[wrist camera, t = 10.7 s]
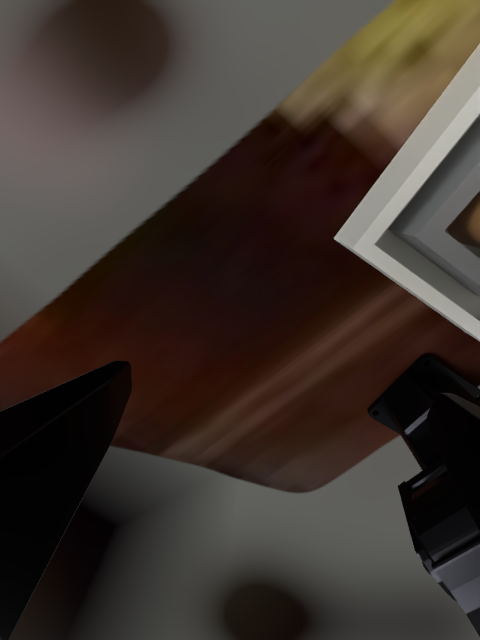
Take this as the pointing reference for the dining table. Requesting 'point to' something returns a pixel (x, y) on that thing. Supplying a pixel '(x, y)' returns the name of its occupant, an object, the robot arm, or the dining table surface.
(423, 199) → the socket box
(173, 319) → the dining table surface
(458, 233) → the plug
